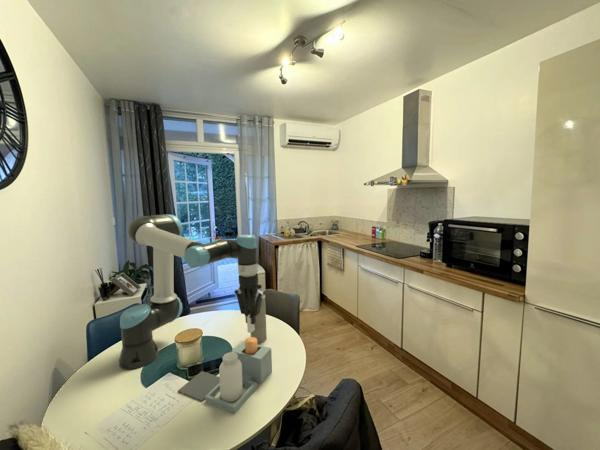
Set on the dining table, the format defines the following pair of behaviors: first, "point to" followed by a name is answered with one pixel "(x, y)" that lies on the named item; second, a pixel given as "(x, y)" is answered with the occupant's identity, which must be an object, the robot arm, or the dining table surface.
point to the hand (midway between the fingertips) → (251, 330)
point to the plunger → (251, 345)
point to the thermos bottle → (260, 321)
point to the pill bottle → (230, 377)
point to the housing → (246, 375)
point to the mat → (200, 386)
